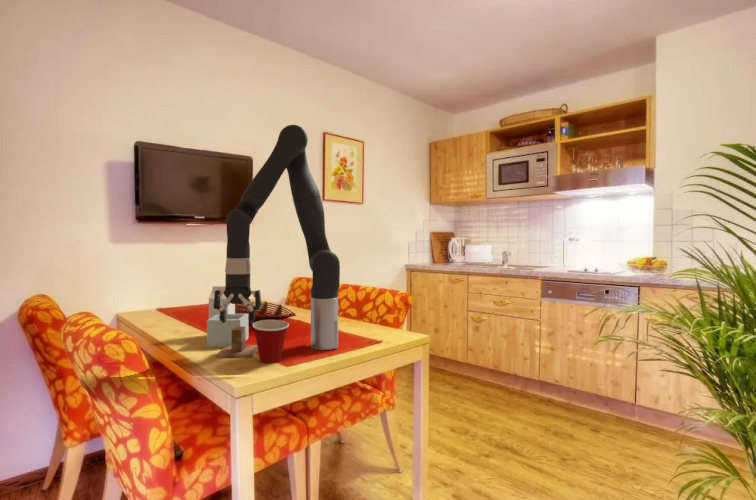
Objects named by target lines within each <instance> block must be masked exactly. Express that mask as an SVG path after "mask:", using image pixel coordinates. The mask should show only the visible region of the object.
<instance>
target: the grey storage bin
mask: <svg viewBox="0 0 756 500" xmlns="http://www.w3.org/2000/svg"><path fill="white" fill-rule="evenodd" d="M235 327H245V341H247V340H248V339H249V335H250V334H249V313H235V314H226V322H225V323H222V321H220V314H217V315H215V316H213V317H212V318H210V319H209V318H208V319H207V320H206V344H207V345H206V347H207V348H208V347H209V348H210V347H225V346H226V345H232V331H231V330H232V329H234V328H235Z"/></svg>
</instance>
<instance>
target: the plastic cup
mask: <svg viewBox="0 0 756 500" xmlns="http://www.w3.org/2000/svg"><path fill="white" fill-rule="evenodd" d="M251 324H252V328H253V331H254V335H255V340H256V345H257V346H258V350H257V352H258V355H259V361H260V362H261V363H263V364H275V363H276V364H277V363H278V362H280V361H281V360H282V354H283V350H284V346H285V338H286V334H287V331H288V328H289V326H290V323H289V321H288V322H287V321H285V320H282V319H261V320H258V321H255V322H254V321H253V322H252V323H251Z"/></svg>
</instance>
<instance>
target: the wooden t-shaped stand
mask: <svg viewBox="0 0 756 500" xmlns="http://www.w3.org/2000/svg"><path fill="white" fill-rule="evenodd" d="M231 331H232V345H226V346H223V348H222V349H221V350H220V351H218V352H217V353H216V354H215V358H216V359H221V358H222V359H225V358H227V359H229V358H231V359H232V358H233V359H234V358H238V359H239V358H253V357H254V356H255V354H256V353H257V352H258V346H257V344H246V341H247V340H246V341H245V327H235V328H234V329H232V330H231Z"/></svg>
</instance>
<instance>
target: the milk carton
mask: <svg viewBox="0 0 756 500" xmlns="http://www.w3.org/2000/svg"><path fill="white" fill-rule="evenodd" d="M216 290H223V291H225V285H224V286H220V285H219V286H212V290H211V292H210V294H209V297H208V319H210V318H212V317H213V316H215V315H217V314H220V311H219V310H217V309H214V295H215V291H216ZM226 299H227V298H226V296H225V295H224V294H223V295H222V297H221V299H220V305H221V306H222V305H223V303H224V302H225V301H226ZM225 310H226V314H236V304H232V303H230V304H229V305H228V306H227V308H226V309H225Z"/></svg>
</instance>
